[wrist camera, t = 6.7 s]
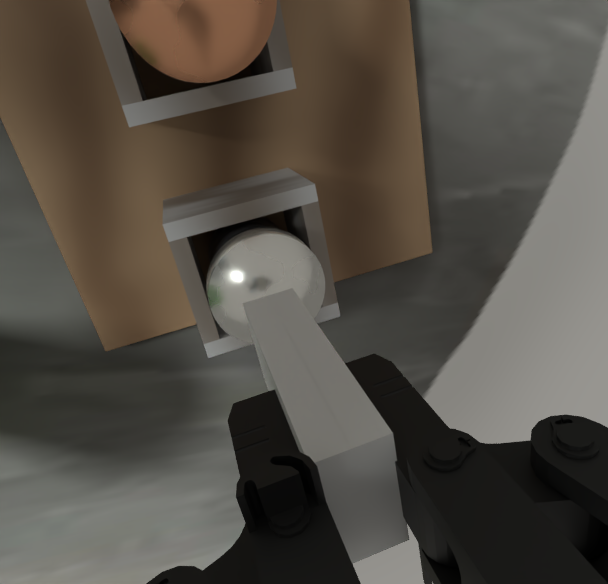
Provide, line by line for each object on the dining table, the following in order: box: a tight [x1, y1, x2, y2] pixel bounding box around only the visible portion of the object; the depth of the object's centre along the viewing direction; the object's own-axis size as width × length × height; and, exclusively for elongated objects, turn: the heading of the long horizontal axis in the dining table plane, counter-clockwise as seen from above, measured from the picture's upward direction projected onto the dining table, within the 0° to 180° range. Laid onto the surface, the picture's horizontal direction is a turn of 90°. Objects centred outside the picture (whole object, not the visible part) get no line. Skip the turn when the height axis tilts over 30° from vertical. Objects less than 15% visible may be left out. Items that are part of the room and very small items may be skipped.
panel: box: [0, 0, 433, 358], centre depth 18 cm, size 18×26×6 cm
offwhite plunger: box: [206, 217, 325, 344], centre depth 20 cm, size 4×4×5 cm
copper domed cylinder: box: [109, 0, 277, 83], centre depth 15 cm, size 4×4×5 cm
